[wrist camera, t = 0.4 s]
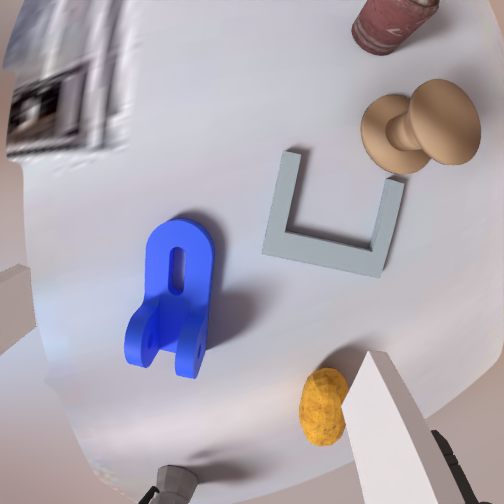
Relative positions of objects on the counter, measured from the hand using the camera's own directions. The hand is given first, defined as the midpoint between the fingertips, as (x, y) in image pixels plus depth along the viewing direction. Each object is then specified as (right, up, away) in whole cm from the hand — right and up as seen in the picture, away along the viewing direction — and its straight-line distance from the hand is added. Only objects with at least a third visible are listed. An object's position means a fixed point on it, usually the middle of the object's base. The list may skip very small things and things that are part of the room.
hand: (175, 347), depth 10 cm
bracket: (-7, -1, +29) cm, 29 cm away
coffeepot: (-14, -44, +40) cm, 61 cm away
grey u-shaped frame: (+12, +8, +25) cm, 29 cm away
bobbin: (+21, +18, +22) cm, 35 cm away
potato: (+13, -18, +32) cm, 39 cm away
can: (+18, +31, +19) cm, 41 cm away
